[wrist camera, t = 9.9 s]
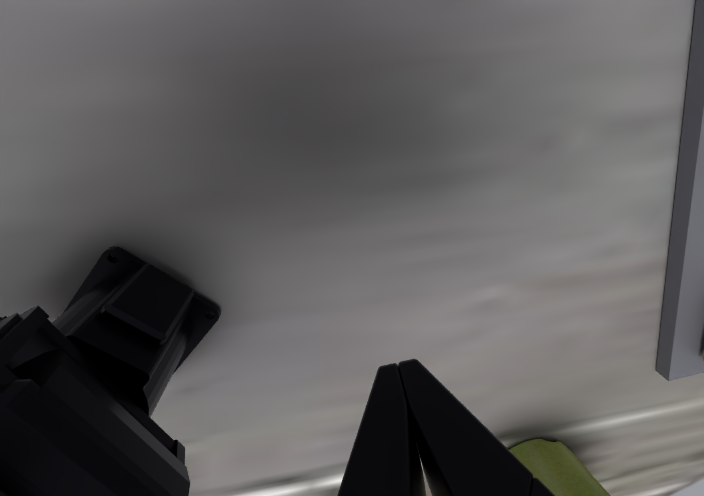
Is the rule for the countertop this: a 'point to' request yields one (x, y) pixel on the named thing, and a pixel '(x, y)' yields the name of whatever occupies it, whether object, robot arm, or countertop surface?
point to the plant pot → (557, 468)
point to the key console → (687, 233)
